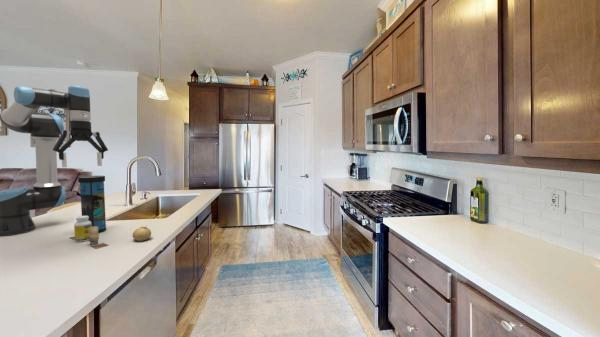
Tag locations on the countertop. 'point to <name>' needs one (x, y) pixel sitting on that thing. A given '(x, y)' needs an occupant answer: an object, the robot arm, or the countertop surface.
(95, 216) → the advertising column
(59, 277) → the countertop surface
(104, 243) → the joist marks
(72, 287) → the countertop surface
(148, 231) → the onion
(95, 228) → the tan wooden cylinder
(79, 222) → the pill bottle
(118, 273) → the countertop surface
